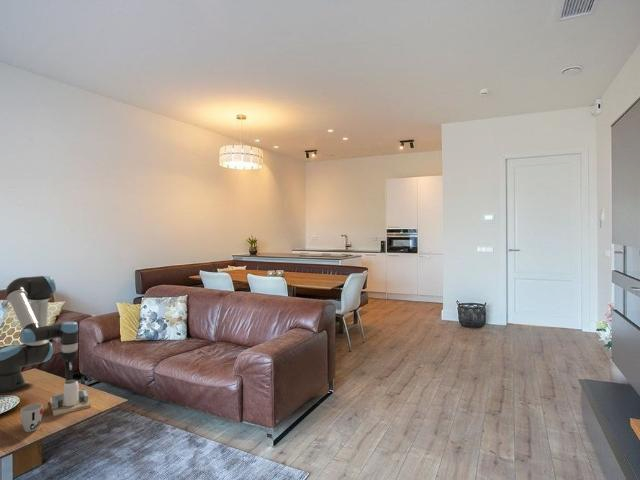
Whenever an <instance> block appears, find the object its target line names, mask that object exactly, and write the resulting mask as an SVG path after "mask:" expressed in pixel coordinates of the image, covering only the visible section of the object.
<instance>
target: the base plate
mask: <svg viewBox="0 0 640 480" xmlns="http://www.w3.org/2000/svg"><path fill="white" fill-rule="evenodd" d="M57 402H58V408H57V409H54V407H53V404H52V398H50V399H49V404H50V407H51V412H52V415H53V417H55V416H59V415H64V414H67V413H71V412H76V411H79V410H84V409H89V408H91V406H92V405H91V401H90V399H88V401H87V402H85V401H84V396H79V397H78V403H77V404H76V405H74V406H70V407H65V406H64V405H63V400H59V401H57Z"/></svg>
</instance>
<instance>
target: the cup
mask: <svg viewBox="0 0 640 480" xmlns="http://www.w3.org/2000/svg"><path fill="white" fill-rule="evenodd" d="M43 405H44V404H42V403H34V404H33V403H32V404H29V405H26V406H23V407H22V408H21V409H20V415H21V417H20V419H21V424H22V427H23V430H24V432H26V433H27V432H28V433H29V432H34V431H36V430H38V429H39V427H40V424H41V422H42V416H43V408H44V407H43Z"/></svg>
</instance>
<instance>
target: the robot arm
mask: <svg viewBox="0 0 640 480" xmlns="http://www.w3.org/2000/svg"><path fill="white" fill-rule="evenodd" d="M56 291H57V286H56V282H55V280H54V278H53V277H52V276H50V275H38V276H37V275H36V276H27V277H25V276H24V277H18V278H15V279H13V280H12V281H11V282H10V283H9V284H8V285H7V287H6V289H5V295H4V296H5V298H6V299H5V300H6V301H7V302H8V303H9V304H11V306H12V310H13V311H14V313H15V316H16V318H17V320H18V322H19V324H20V327H21V329H22V330H20V333H19V341H20V343H21V344H23V345H25V346H22V345H19V344H18V345H17V344H15V345H9V346H5V347H3V348H1V349H0V393H1V394H2V393H8V392H13V391H16V390H19V389H22V388H23V387H24V386H25V385H26V380H25V378H24V375H23V373H22V368H23V367H28V366H29V367H30V366H33V365H37V364H42V363H46V362H48V361H49V360H50V359H51V358H52V355H53V352H54V348H53V343H52V342H50V340H54V339H60V346H59V348H60V351H61V352H60V360H62V361H64V369H65V370H64V371H65V373H64V374H65V377H64V378H65V382H66V381H68V380H73V379H74V365H75V361H74V360H75V359H76V358H78V353H79V351H78V350H79V349H78V348H79V346H78V345H79V341H78V338H79V337H78V336H79V326H78V325H79V324H78V322H77V321H65V322H56V323H53V324H52V325H51V324H50V325H48V310H49V309H48V308H49V301H50V300H51V299H52V295H54V294H56Z"/></svg>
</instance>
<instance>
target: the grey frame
mask: <svg viewBox="0 0 640 480" xmlns="http://www.w3.org/2000/svg"><path fill="white" fill-rule="evenodd" d="M79 396H84V401H85V402H87V401H88V400H89V394H88V392H87V390H86V388H83V389H78V397H79ZM51 399H52V404H53V407H54V409H57V408H58V402H57V401H59V400H63V399H64V392H63V393H60V394H55V395H52V396H51Z"/></svg>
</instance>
